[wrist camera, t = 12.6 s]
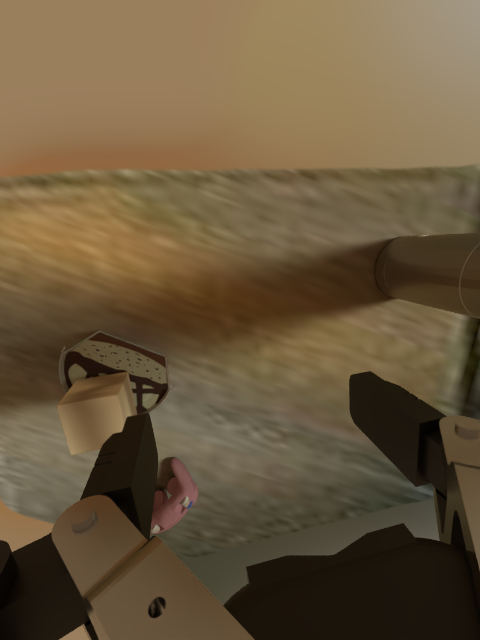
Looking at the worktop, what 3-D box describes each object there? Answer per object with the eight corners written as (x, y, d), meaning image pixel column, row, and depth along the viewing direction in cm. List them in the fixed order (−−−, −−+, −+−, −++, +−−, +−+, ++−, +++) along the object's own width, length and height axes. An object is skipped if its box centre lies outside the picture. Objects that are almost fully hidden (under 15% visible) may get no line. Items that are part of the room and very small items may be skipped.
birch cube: (128, 371, 31) (117, 394, 26) (137, 414, 32) (128, 443, 27) (76, 380, 30) (56, 405, 25) (88, 423, 31) (71, 454, 27)
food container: (70, 366, 39) (34, 405, 30) (87, 325, 39) (56, 352, 29) (158, 396, 43) (151, 440, 33) (176, 359, 42) (174, 393, 32)
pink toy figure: (146, 499, 48) (156, 545, 43) (124, 495, 45) (133, 545, 40) (191, 459, 48) (207, 501, 43) (173, 453, 45) (188, 497, 40)
